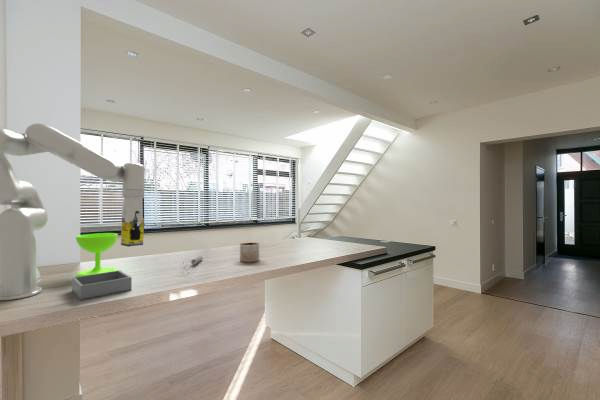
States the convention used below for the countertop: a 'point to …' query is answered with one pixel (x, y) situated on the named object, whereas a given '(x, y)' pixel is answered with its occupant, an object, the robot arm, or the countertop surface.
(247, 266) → the countertop surface
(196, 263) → the kitchen whisk
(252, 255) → the planter
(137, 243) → the supplement box
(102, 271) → the wineglass
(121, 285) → the bin
